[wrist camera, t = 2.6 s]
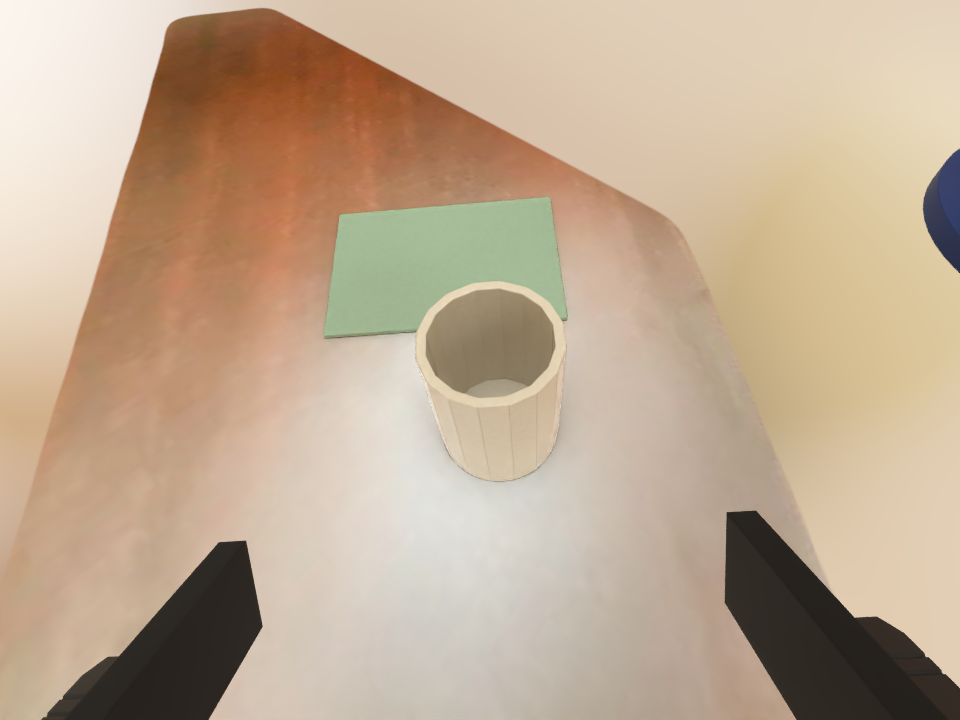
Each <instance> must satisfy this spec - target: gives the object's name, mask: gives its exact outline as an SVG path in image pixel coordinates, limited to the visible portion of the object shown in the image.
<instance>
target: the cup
mask: <svg viewBox="0 0 960 720" xmlns="http://www.w3.org/2000/svg"><path fill="white" fill-rule="evenodd" d="M566 348H567V345H566V338H565V331H564V324H563V321H562V320H561V319H560V317H559V316H558V314H557V313H556V311H555V310H554V308H553V307H552V305H551V304H550V302H549V301H548V300H546V299H544V298H543V297H541V296H540V295H538V294H537V293H535V292H534V291H532V290H531V289H529V288H527V287H524V286H520V285H516V284H512V283H507V282H503V281H492V282H479V283H472V284H469V285H467V286H464V287H462V288H459V289H457V290H454V291H452V292H449V293H448V294H446V295H445V296H444V297H442V298H441V299H440V300H439V301H438V302H437V303H436V304H434V305H433V306H432V307H431V308H430V309H429V310H428V311H427V313H426V315H425V317H424V319H423V321H422V323H421V324H420V326H419V328H418V330H417V332H416V347H415V358H416V362H417V365H418V368H419V371H420V374H421V377H422V380H423V383H424V386H425V389H426V392H427V395H428V398H429V401H430V404H431V407H432V410H433V413H434V416H435V419H436V422H437V425H438V428H439V431H440V434H441V437H442V439H443V441H444V444H445V446H446V449H447V451H448V453H449V455H450V456H451V458H452V459H453V460H454V462H455V463H456V464H457V465H458V466H459V467H460V468H462V469H463V470H464V471H466V472H467V473H469V474H471V475H473V476H475V477H478V478H480V479H484V480H489V481H509V480H514V479H518V478H520V477H523V476H526V475H527V474H529V473H531V472H533V471H534V470H535V469H537V468H538V467H539V466H540V465H541V464H542V463H543V462H544V461H545V460H546V459H547V457H548V456H549V455H550V453H551V451H552V449H553V447H554V444H555V441H556V437H557V433H558V429H559V419H560V409H561V399H562V389H563V378H564V368H565V358H566Z"/></svg>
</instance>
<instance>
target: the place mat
mask: <svg viewBox="0 0 960 720" xmlns="http://www.w3.org/2000/svg"><path fill="white" fill-rule="evenodd" d="M492 281H503V282H507V283H512V284H516V285H520V286H524V287H527V288H529V289H531V290H532V291H534V292H535V293H537V294H538V295H540V296H541V297H543V298H544V299H546V300H548V301H549V302H550V304H551V305H552V307H553V308H554V310H555V311H556V313H557V314H558V316H559V317H560V319H561V320H562V321H564V320H567V311H566V304H565V297H564V290H563V284H562V277H561V270H560V263H559V256H558V249H557V242H556V236H555V229H554V222H553V215H552V208H551V201H550V197H541V198H529V199H517V200H506V201H494V202H482V203H470V204H459V205H447V206H435V207H423V208H412V209H400V210H388V211H376V212H365V213H353V214H341V215H340V217H339V225H338V232H337V240H336V247H335V255H334V262H333V270H332V277H331V285H330V293H329V300H328V308H327V315H326V323H325V330H324V337H325V338H336V337H349V336H363V335H376V334H390V333H403V332H416V331H417V330H418V328H419V326H420V324H421V323H422V321H423V319H424V317H425V315H426V313H427V311H428V310H429V309H430V308H431V307H432V306H433V305H434V304H436V303H437V302H438V301H439V300H440V299H441V298H442V297H444V296H445V295H446V294H448V293H449V292H452V291H454V290H457V289H459V288H462V287H464V286H467V285H469V284H472V283H479V282H492Z"/></svg>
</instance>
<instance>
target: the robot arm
mask: <svg viewBox="0 0 960 720" xmlns="http://www.w3.org/2000/svg"><path fill="white" fill-rule="evenodd" d="M725 604H726V605H727V607H728V609H729V610H730V612H731V613H732V615H733V617H734V618H735V620H736V622H737V623H738V625H739V626H740V628H741V630H742V631H743V633H744V635H745V636H746V638H747V640H748V641H749V643H750V644H751V646H752V648H753V649H754V651H755V653H756V654H757V656H758V658H759V659H760V661H761V662H762V664H763V666H764V667H765V669H766V671H767V672H768V674H769V675H770V677H771V679H772V680H773V682H774V684H775V685H776V687H777V689H778V690H779V692H780V693H781V695H782V697H783V698H784V700H785V702H786V703H787V705H788V706H789V708H790V710H791V711H792V713H793V715H794V716H795V718H796V720H960V688H959V687H958V686H957V685H956V684H955V683H954V682H953V681H952V680H951V679H950V678H949V677H948V676H947V675H946V674H942V672H941V669H940V668H939V667H938V666H937V665H936V664H935V663H934V662H933V661H932V660H931V659H930V658H929V657H925V654H924V652H923V651H922V650H921V649H920V648H919V647H918V646H917V645H916V644H915V643H914V642H913V641H912V640H911V639H909V637H907V635H905V634H904V633H903V632H901V631H900V630H898V629H896V628H895V627H893V626H891V625H890V624H888V623H887V622H885V621H883V620H882V619H880V618H878V617H860V618H854V617H853V616H852V614H851V613H849V611H848V610H847V609H846V608H845V607H844V606H843V605H842V604H841V603H840V601H839V600H838V599H837V598H836V597H835V596H834V595H833V594H832V593H831V592H830V591H829V589H828V588H827V587H826V586H825V585H824V584H823V583H822V582H821V581H820V580H819V579H818V578H817V576H816V575H815V574H814V573H813V572H812V571H811V570H810V569H809V568H808V567H807V566H806V564H805V563H804V562H803V561H802V560H801V559H800V558H799V557H798V556H797V555H796V554H795V553H794V551H793V550H792V549H791V548H790V547H789V546H788V545H787V544H786V543H785V542H784V541H783V540H782V538H781V537H780V536H779V535H778V534H777V533H776V532H775V531H774V530H773V529H772V528H771V526H770V525H769V524H768V523H767V522H766V521H765V520H764V519H763V518H762V517H761V516H760V515H759V513H758V512H757V511H741V512H727V523H726V569H725ZM262 627H263V626H262V621H261V615H260V610H259V605H258V600H257V595H256V590H255V584H254V579H253V574H252V569H251V564H250V559H249V553H248V548H247V543H246V541H232V542H219V543H218V544H217V545H216V546H215V547H214V549H213V550H212V551H211V552H210V553H209V554H208V555H207V557H206V558H205V559H204V560H203V561H202V562H201V563H200V565H199V566H198V567H197V568H196V569H195V570H194V571H193V573H192V574H191V575H190V576H189V577H188V578H187V579H186V581H185V582H184V583H183V584H182V585H181V586H180V587H179V589H178V590H177V591H176V592H175V593H174V594H173V595H172V597H171V598H170V599H169V600H168V601H167V602H166V603H165V605H164V606H163V607H162V608H161V609H160V610H159V611H158V613H157V614H156V615H155V616H154V617H153V618H152V619H151V621H150V622H149V623H148V624H147V625H146V626H145V627H144V628H143V630H142V631H141V632H140V633H139V634H138V635H137V636H136V638H135V639H134V640H133V641H132V642H131V643H130V644H129V646H128V647H127V648H126V649H125V650H124V651H123V652H122V654H121V655H120V656H118V657H107V658H106V659H104V660H103V661H101V662H100V663H99V664H97V665H96V666H95V667H93V668H92V669H90V670H89V671H88V672H86V673H85V674H83V675H82V676H81V677H80V678H79V679H78V681H77V682H76V683H75V684H74V685H73V686H72V687H71V688H70V689H69V690H68V691H67V692H66V694H65V695H64V696H63V699H62V700H59V701H58V702H57V703H56V704H55V706H54V707H53V708H52V709H51V710H50V711H49V712H48V715H47V717H43V719H42V720H209V718H210V716H211V714H212V713H213V711H214V709H215V708H216V706H217V704H218V702H219V701H220V699H221V697H222V695H223V694H224V692H225V690H226V689H227V687H228V685H229V683H230V682H231V680H232V678H233V677H234V675H235V673H236V671H237V670H238V668H239V666H240V665H241V663H242V661H243V659H244V658H245V656H246V654H247V653H248V651H249V649H250V647H251V646H252V644H253V642H254V641H255V639H256V637H257V635H258V634H259V632H260V630H261V629H262Z"/></svg>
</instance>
